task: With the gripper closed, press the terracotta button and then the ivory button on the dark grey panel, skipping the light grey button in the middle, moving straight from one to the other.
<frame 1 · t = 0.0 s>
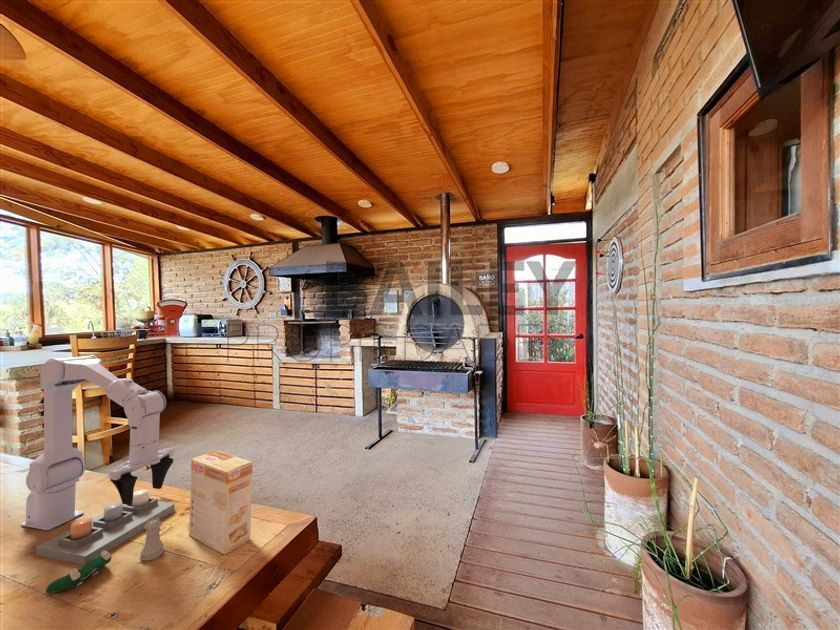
hand: (142, 495, 86), 10 cm above the table, fingers open, 7 cm apart
button ivory: (140, 498, 94), point 5 cm above the table, slide at 0.0 cm
panel: (112, 530, 87), on the table
button light grey: (113, 512, 87), point 5 cm above the table, slide at 0.0 cm
coffeecake box: (219, 538, 86), on the table
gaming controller: (82, 580, 71), on the table
button terracotta: (81, 528, 80), point 5 cm above the table, slide at 0.0 cm
rook chess piece: (152, 556, 79), on the table
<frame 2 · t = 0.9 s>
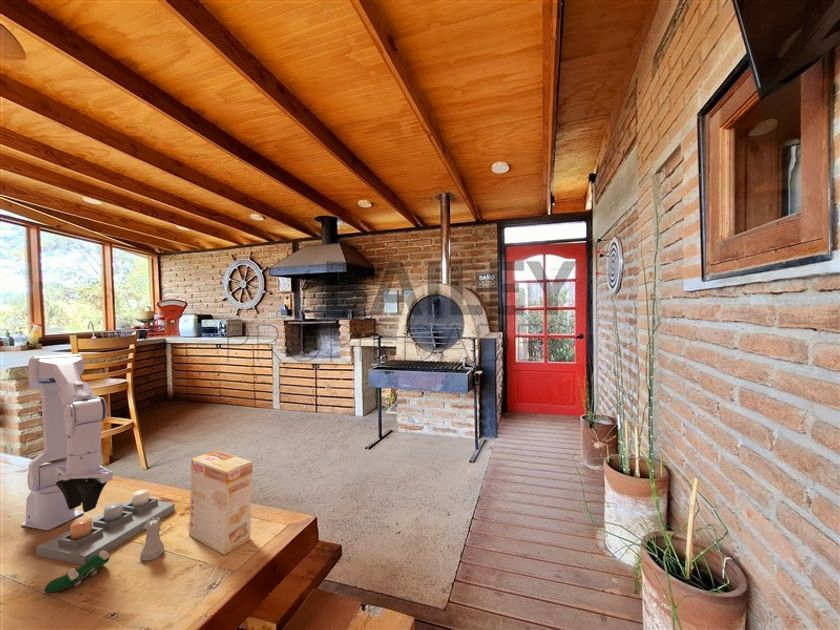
hand: (82, 508, 81), 9 cm above the table, fingers open, 4 cm apart
nothing on the table moved.
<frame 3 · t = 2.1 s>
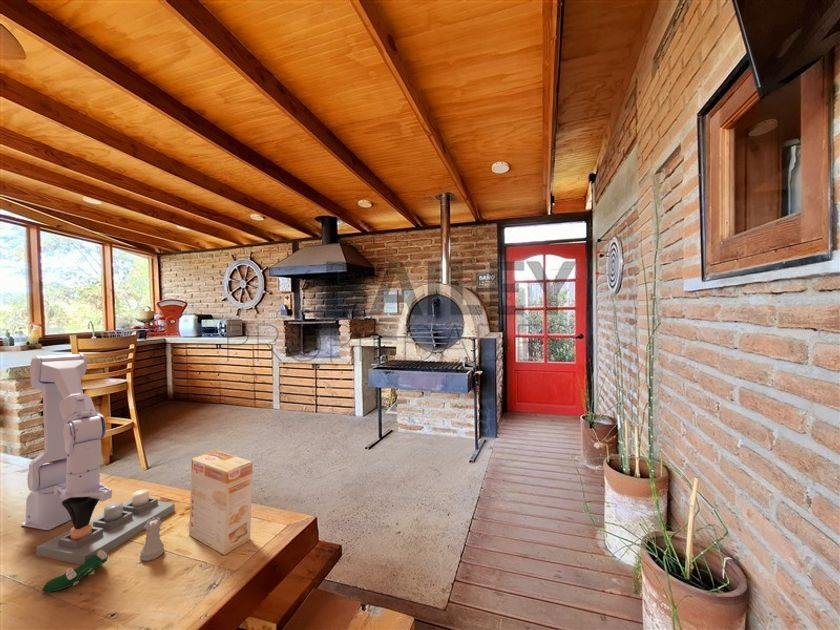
hand: (81, 526, 80), 5 cm above the table, fingers closed, pressing on button terracotta
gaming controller: (78, 580, 72), on the table, touching panel
button terracotta: (81, 532, 80), point 4 cm above the table, slide at 1.0 cm, touching gripper
everything else where it was.
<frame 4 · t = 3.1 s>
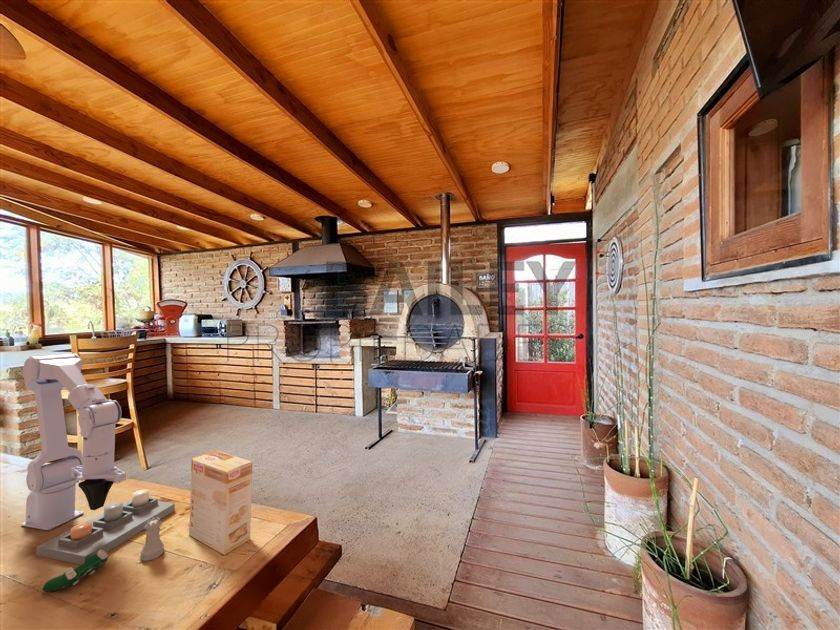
hand: (97, 507, 84), 8 cm above the table, fingers closed
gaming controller: (79, 579, 72), on the table
button terracotta: (81, 532, 80), point 4 cm above the table, slide at 1.0 cm
everything else where it was.
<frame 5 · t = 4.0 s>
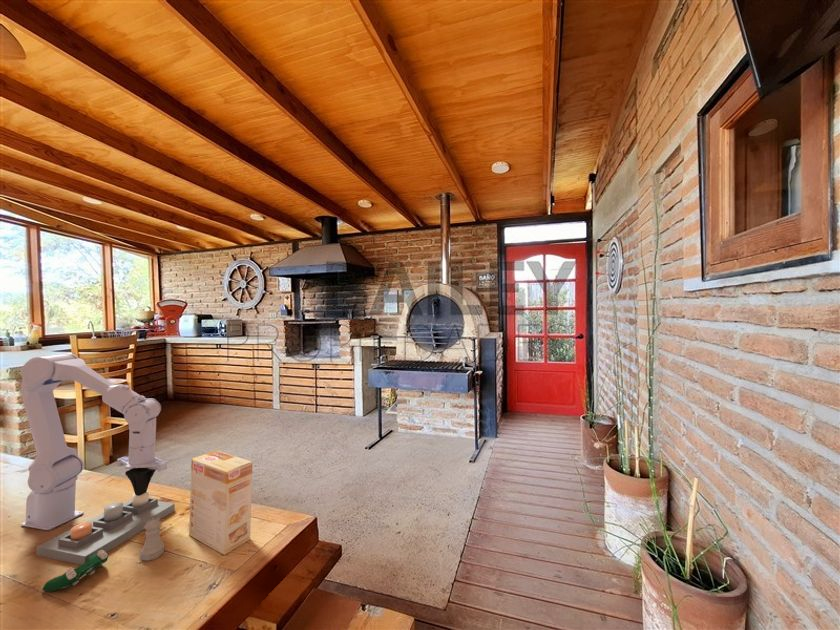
hand: (141, 493, 94), 6 cm above the table, fingers closed, pressing on button ivory
button ivory: (140, 499, 94), point 4 cm above the table, slide at 0.3 cm, touching gripper
everything else where it was.
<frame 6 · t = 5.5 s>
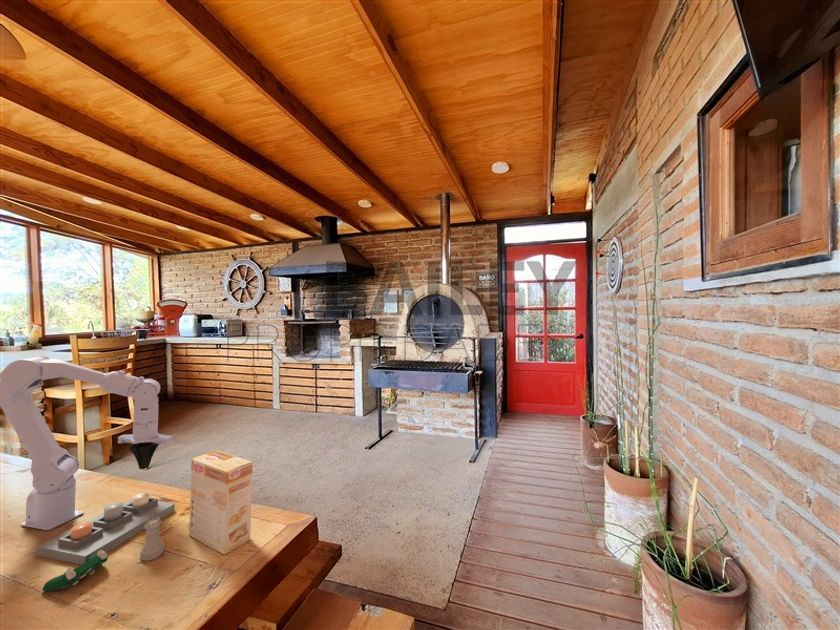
hand: (144, 467, 100), 10 cm above the table, fingers closed
button ivory: (140, 501, 94), point 4 cm above the table, slide at 1.0 cm
everything else where it was.
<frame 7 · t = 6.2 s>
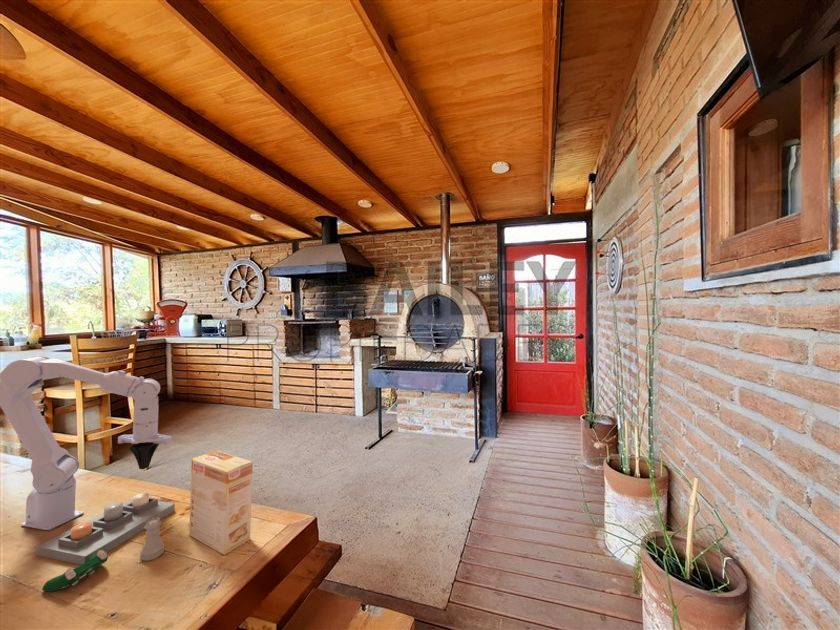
hand: (144, 467, 100), 10 cm above the table, fingers closed
nothing on the table moved.
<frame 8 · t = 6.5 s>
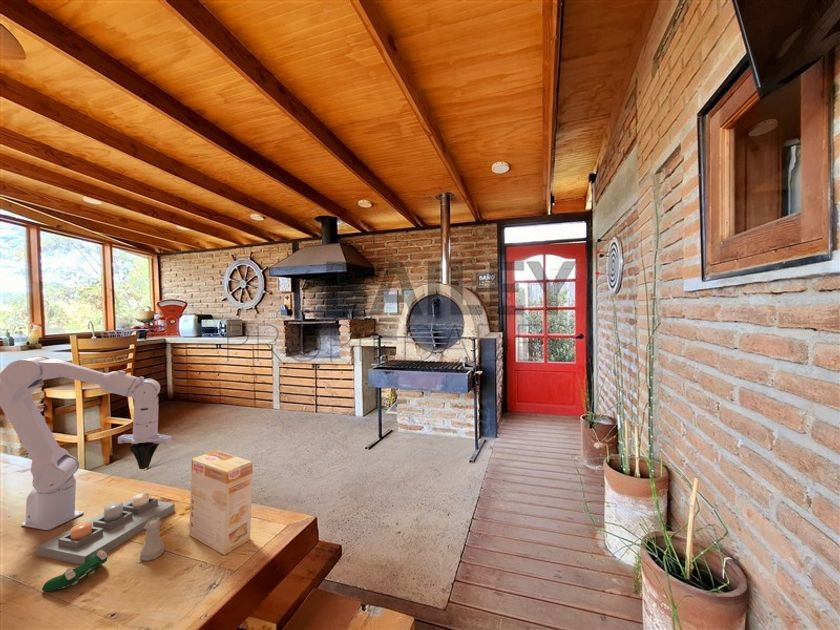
hand: (144, 467, 100), 10 cm above the table, fingers closed
nothing on the table moved.
at the end: button terracotta slide at 1.0 cm; button ivory slide at 1.0 cm; button light grey slide at 0.0 cm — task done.
